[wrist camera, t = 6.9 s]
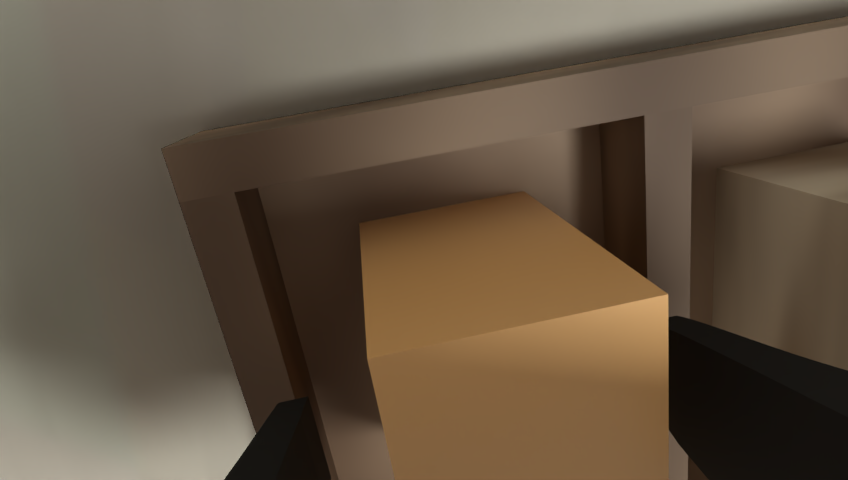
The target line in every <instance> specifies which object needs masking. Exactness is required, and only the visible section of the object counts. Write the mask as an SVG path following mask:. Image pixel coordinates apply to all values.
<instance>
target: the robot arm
mask: <svg viewBox="0 0 848 480" xmlns="http://www.w3.org/2000/svg"><path fill="white" fill-rule="evenodd" d="M668 362H669V431H670V432H671V434H672V435H673V437H674V438H675V440H676V441H677V443H678V444H679V445H680V446H681V448H682V449H683V450H684V451H685V452H686V454H687V455H688V456H689V457H690V458H691V460H692V461H693V462H694V463H695V464H696V465H697V467H698V468H699V469H700V470H701V471H702V472H703V474H704V475H705V476H706V477H707V478H708V479H709V480H848V370H844V369H841V368H838V367H834V366H831V365H828V364H824V363H821V362H818V361H814V360H811V359H808V358H805V357H802V356H799V355H796V354H793V353H790V352H787V351H784V350H781V349H778V348H775V347H772V346H769V345H766V344H763V343H760V342H757V341H754V340H751V339H749V338H746V337H743V336H740V335H737V334H734V333H731V332H728V331H726V330H723V329H720V328H717V327H714V326H711V325H708V324H705V323H702V322H699V321H695V320H692V319H689V318H685V317H681V316H672V317H668ZM224 480H331V475H330V471H329V468H328V464H327V461H326V457H325V454H324V450H323V446H322V443H321V439H320V436H319V432H318V429H317V425H316V422H315V418H314V415H313V411H312V408H311V404H310V401H309V397H308V396H307V397H303V398H298V399H294V400H289V401H285V402H280V403H278V404H277V405H276V406H275V408H274V409H273V411H272V412H271V413H270V415H269V416H268V418H267V419H266V421H265V422H264V423H263V425H262V426H261V428H260V429H259V431H258V432H257V434H256V435H255V437H254V438H253V440H252V441H251V443H250V444H249V445H248V447H247V448H246V450H245V451H244V453H243V454H242V456H241V457H240V458H239V460H238V461H237V463H236V464H235V465H234V467H233V468H232V470H231V471H230V472H229V474H228V475H227V477H226V478H225V479H224Z"/></svg>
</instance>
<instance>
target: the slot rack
mask: <svg viewBox="0 0 848 480" xmlns="http://www.w3.org/2000/svg"><path fill="white" fill-rule="evenodd" d="M845 142H848V16H847V17H841V18H836V19H830V20H824V21H819V22H813V23H807V24H802V25H796V26H791V27H785V28H779V29H774V30H768V31H763V32H757V33H751V34H746V35H740V36H734V37H729V38H723V39H718V40H712V41H706V42H701V43H695V44H690V45H684V46H678V47H673V48H667V49H661V50H656V51H650V52H645V53H639V54H633V55H628V56H622V57H617V58H611V59H605V60H600V61H594V62H588V63H583V64H577V65H572V66H566V67H560V68H555V69H549V70H543V71H538V72H532V73H527V74H521V75H515V76H510V77H504V78H499V79H493V80H487V81H482V82H476V83H470V84H465V85H459V86H454V87H448V88H442V89H437V90H431V91H426V92H420V93H414V94H409V95H403V96H397V97H392V98H386V99H381V100H375V101H369V102H364V103H358V104H353V105H347V106H341V107H336V108H330V109H324V110H319V111H313V112H308V113H302V114H296V115H291V116H285V117H280V118H274V119H268V120H263V121H257V122H251V123H246V124H240V125H235V126H229V127H223V128H218V129H212V130H207V131H201V132H199V133H196V134H194V135H192V136H189V137H187V138H185V139H182V140H180V141H178V142H175V143H173V144H171V145H168V146H166V147H164V148H162V149H161V150H162V153H163V156H164V159H165V162H166V165H167V168H168V171H169V174H170V177H171V180H172V183H173V186H174V189H175V192H176V195H177V198H178V201H179V204H180V207H181V210H182V213H183V216H184V219H185V222H186V225H187V228H188V231H189V234H190V237H191V240H192V243H193V246H194V249H195V252H196V255H197V258H198V261H199V264H200V267H201V270H202V272H203V275H204V278H205V281H206V284H207V287H208V290H209V293H210V296H211V299H212V302H213V305H214V308H215V311H216V314H217V317H218V320H219V323H220V326H221V329H222V332H223V335H224V338H225V341H226V344H227V347H228V350H229V353H230V356H231V359H232V362H233V365H234V368H235V371H236V374H237V377H238V380H239V383H240V386H241V389H242V392H243V395H244V398H245V401H246V404H247V407H248V410H249V413H250V416H251V419H252V422H253V425H254V428H255V431H256V434H257V432H258V431H259V429H260V428H261V426H262V425H263V423H264V422H265V421H266V419H267V418H268V416H269V415H270V413H271V412H272V411H273V409H274V408H275V406H276V405H277V404H278V403H280V402H285V401H289V400H294V399H298V398H303V397H307V396H308V397H309V401H310V404H311V408H312V411H313V415H314V418H315V422H316V425H317V429H318V432H319V436H320V439H321V443H322V446H323V450H324V454H325V457H326V461H327V464H328V468H329V471H330V475H331V480H395V478H394V474H393V469H392V465H391V461H390V456H389V452H388V448H387V443H386V439H385V434H384V430H383V426H382V421H381V417H380V413H379V408H378V404H377V400H376V395H375V391H374V386H373V382H372V378H371V373H370V369H369V365H368V360H367V348H366V331H365V314H364V297H363V280H362V263H361V246H360V229H359V223H362V222H367V221H373V220H378V219H383V218H388V217H393V216H398V215H404V214H409V213H414V212H419V211H424V210H429V209H434V208H440V207H445V206H450V205H455V204H460V203H465V202H470V201H476V200H481V199H486V198H491V197H496V196H501V195H507V194H512V193H517V192H522V191H524V192H526V193H527V194H528V195H530V196H531V197H533V198H534V199H535V200H537V201H538V202H540V203H541V204H542V205H544V206H545V207H547V208H548V209H549V210H551V211H552V212H554V213H555V214H557V215H558V216H559V217H561V218H562V219H564V220H565V221H566V222H568V223H569V224H571V225H572V226H573V227H575V228H576V229H578V230H579V231H580V232H582V233H583V234H585V235H586V236H587V237H589V238H590V239H592V240H593V241H594V242H596V243H597V244H599V245H600V246H601V247H603V248H604V249H606V250H607V251H608V252H610V253H611V254H613V255H614V256H615V257H617V258H618V259H620V260H621V261H622V262H624V263H625V264H627V265H628V266H629V267H631V268H632V269H634V270H635V271H636V272H638V273H639V274H641V275H642V276H643V277H645V278H646V279H648V280H649V281H650V282H652V283H653V284H655V285H656V286H657V287H659V288H660V289H662V290H663V291H665V292H666V293H667V294H668V317H672V316H681V317H685V318H689V319H692V320H695V321H699V322H702V323H705V324H708V325H711V326H712V316H713V282H714V247H715V213H716V178H717V168H719V167H724V166H729V165H734V164H739V163H744V162H749V161H754V160H759V159H764V158H769V157H774V156H780V155H785V154H790V153H795V152H800V151H805V150H810V149H815V148H820V147H825V146H830V145H835V144H840V143H845ZM669 480H709V479H708V478H707V477H706V476H705V475H704V474H703V472H702V471H701V470H700V469H699V468H698V467H697V465H696V464H695V463H694V462H693V461H692V460H691V458H690V457H689V456H688V455H687V454H686V452H685V451H684V450H683V449H682V448H681V446H680V445H679V444H678V443H677V441H676V440H675V438H674V437H673V435H672V434H671V432H670V431H669Z"/></svg>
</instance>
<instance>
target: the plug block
mask: <svg viewBox="0 0 848 480" xmlns="http://www.w3.org/2000/svg"><path fill="white" fill-rule="evenodd" d="M359 229H360V246H361V263H362V280H363V297H364V314H365V331H366V348H367V360H368V365H369V369H370V373H371V378H372V382H373V386H374V391H375V395H376V400H377V404H378V408H379V413H380V417H381V421H382V426H383V430H384V434H385V439H386V443H387V448H388V452H389V456H390V461H391V465H392V469H393V474H394V478H395V480H669V362H668V294H667V293H666V292H665V291H663V290H662V289H660V288H659V287H657V286H656V285H655V284H653V283H652V282H650V281H649V280H648V279H646V278H645V277H643V276H642V275H641V274H639V273H638V272H636V271H635V270H634V269H632V268H631V267H629V266H628V265H627V264H625V263H624V262H622V261H621V260H620V259H618V258H617V257H615V256H614V255H613V254H611V253H610V252H608V251H607V250H606V249H604V248H603V247H601V246H600V245H599V244H597V243H596V242H594V241H593V240H592V239H590V238H589V237H587V236H586V235H585V234H583V233H582V232H580V231H579V230H578V229H576V228H575V227H573V226H572V225H571V224H569V223H568V222H566V221H565V220H564V219H562V218H561V217H559V216H558V215H557V214H555V213H554V212H552V211H551V210H549V209H548V208H547V207H545V206H544V205H542V204H541V203H540V202H538V201H537V200H535V199H534V198H533V197H531V196H530V195H528V194H527V193H526V192H524V191H522V192H517V193H512V194H507V195H501V196H496V197H491V198H486V199H481V200H476V201H470V202H465V203H460V204H455V205H450V206H445V207H440V208H434V209H429V210H424V211H419V212H414V213H409V214H404V215H398V216H393V217H388V218H383V219H378V220H373V221H367V222H362V223H359Z"/></svg>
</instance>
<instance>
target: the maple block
mask: <svg viewBox="0 0 848 480" xmlns="http://www.w3.org/2000/svg"><path fill="white" fill-rule="evenodd" d="M712 326H714V327H717V328H720V329H723V330H726V331H728V332H731V333H734V334H737V335H740V336H743V337H746V338H749V339H751V340H754V341H757V342H760V343H763V344H766V345H769V346H772V347H775V348H778V349H781V350H784V351H787V352H790V353H793V354H796V355H799V356H802V357H805V358H808V359H811V360H814V361H818V362H821V363H824V364H828V365H831V366H834V367H838V368H841V369H844V370H848V142H845V143H840V144H835V145H830V146H825V147H820V148H815V149H810V150H805V151H800V152H795V153H790V154H785V155H780V156H774V157H769V158H764V159H759V160H754V161H749V162H744V163H739V164H734V165H729V166H724V167H719V168H717V178H716V213H715V247H714V282H713V316H712Z"/></svg>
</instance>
